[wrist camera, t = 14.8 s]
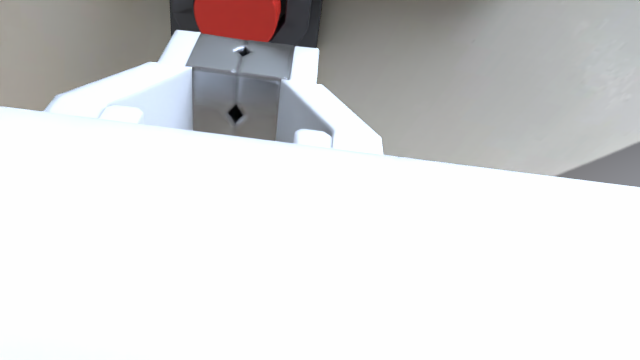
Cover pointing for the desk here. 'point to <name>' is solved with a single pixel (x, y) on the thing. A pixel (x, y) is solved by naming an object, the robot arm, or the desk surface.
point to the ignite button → (238, 18)
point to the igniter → (292, 27)
